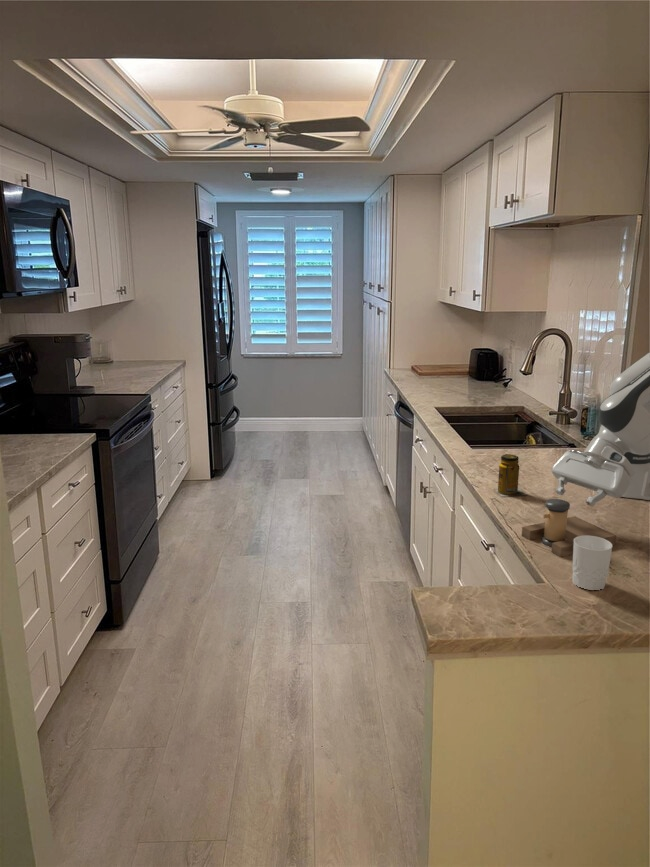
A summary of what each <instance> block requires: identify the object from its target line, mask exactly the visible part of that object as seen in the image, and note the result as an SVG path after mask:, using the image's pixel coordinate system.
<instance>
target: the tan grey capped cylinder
mask: <svg viewBox="0 0 650 867" xmlns="http://www.w3.org/2000/svg"><path fill="white" fill-rule="evenodd" d="M544 506H545V507H546V508H545V510H546V511H545V513H544V514H543V519H545V520H544V521H545V530H544V536H543V537H541V538H542V540H541V543H542V544H543V545H544V546H546V547H548V546H549V548H552V543H554V542H559V541H563V540H567V539H565V535H566V524H567V518H568V512H569V510H570V507H571V503H570V502H569V501H567V500H565V499H558V498H549V499H547V500H545V504H544Z"/></svg>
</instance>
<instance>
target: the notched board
mask: <svg viewBox="0 0 650 867" xmlns="http://www.w3.org/2000/svg"><path fill="white" fill-rule="evenodd" d="M521 529H522V530H521V537H523V538H524V539H527V540H529V541H531V540H536V539H541V538H543V536H544V530H545V522H539V523H536V524H535V523H534V524H530V525H525V526H522V527H521ZM578 536H596V537H600V538H603V539H606V540H608V541H609V542H611V543H612V545H613V546H614V545H616V539H617V535H616V534H614V533H613V532H610V531H608V530H605V529H603V528H602V527H599V526H597V525H595V524H593V523H591V522H588V521H586V520H583V519H582V518H579V517H578V516H576V515H575V516H569V517H567V524H566V535H565V539H566V540H563V541H559V542H554V543H552V547H551V551H550V552H551V553H552V554H554V555H555V554H556V556H557V557H559V558H562V557H566V556H571V555H573V544H574V538H576V537H578Z"/></svg>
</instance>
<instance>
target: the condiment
mask: <svg viewBox="0 0 650 867" xmlns="http://www.w3.org/2000/svg"><path fill="white" fill-rule="evenodd" d="M498 466H499V467H498V480H497V488H493V490H494V491H495V492H496V494H498V495H499V496H501V497H517V496H528V494H527V493H526V492H525V491H523V490H522V489H521V488H520V487H519V477H520V464H519V456H517V455H516V454H512V453H511V454H508V453H506V454H502V455H501V456H500V463H499V465H498Z"/></svg>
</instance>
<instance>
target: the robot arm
mask: <svg viewBox="0 0 650 867" xmlns="http://www.w3.org/2000/svg"><path fill="white" fill-rule="evenodd" d="M598 422H599V424H600V427H599V432H598V433H597V434H596V435H594V436H593V438H592V439H591V441H590V442H589V443H588V445H587V446H586V448H585V449H584V451H580V450H578V449H571V450H567V451H566V450H565V452H564V453H563V455H562V456H561V457H559V459H558V460H557V461H556V462H555V463H554V465H553V466H552V468H551V473H552V475H553V476H554V477H555V478H556V479H558V486H557V488H556V489H555V493H556V494H557V495H560V496H564V494H565V493H566V491H567V490H566V489H565V486H566V485H567V484H568V483H570V484H572V485H573V484H574V485H575V486H579V487H582V488H585V489H588V490H591V491H594V492H596V494H595V495H593V496H588V497H587V499H586V501H585V503H586V505H588V506H590V507H594V506H595V505H596V504H597V503H598V502H599V501H601V500H603V499H605V498H606V496H608V497H612V498H615V499H618V498H619V499H620V498H622V497H623V498H628V499H640V500H646V501H650V352H648V353H646V354H645V355H644V356H642V357H641V358H640V359H638V360H637V361H635V363H633V364H631V366H629V367H628V368H626V369H625V370H623V372H621V373H620V374H618V375H617V376H616V378H614V379H613V381H612V382H611V384H610V387H609V395H608V396H607V397H606V398H605V399H604V400H602V402H601V403H600V405H599V407H598Z"/></svg>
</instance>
